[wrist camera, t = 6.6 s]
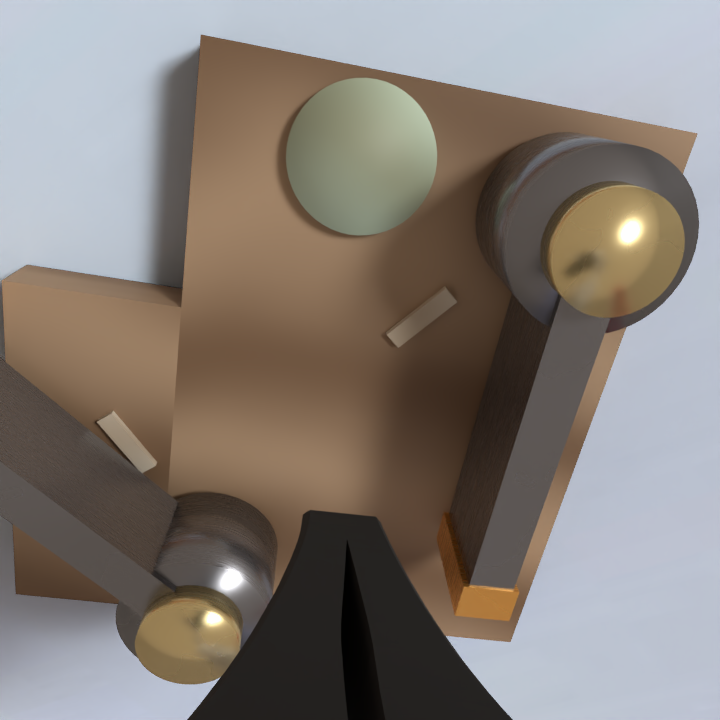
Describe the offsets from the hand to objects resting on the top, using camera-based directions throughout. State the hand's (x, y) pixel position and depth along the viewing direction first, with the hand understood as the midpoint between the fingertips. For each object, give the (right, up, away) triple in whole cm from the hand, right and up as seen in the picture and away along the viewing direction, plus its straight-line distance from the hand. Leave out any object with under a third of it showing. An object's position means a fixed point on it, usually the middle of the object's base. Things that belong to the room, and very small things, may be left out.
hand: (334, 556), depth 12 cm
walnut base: (-1, +3, +8) cm, 8 cm away
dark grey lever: (+5, +4, +6) cm, 8 cm away
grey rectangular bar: (-7, +1, +7) cm, 9 cm away
